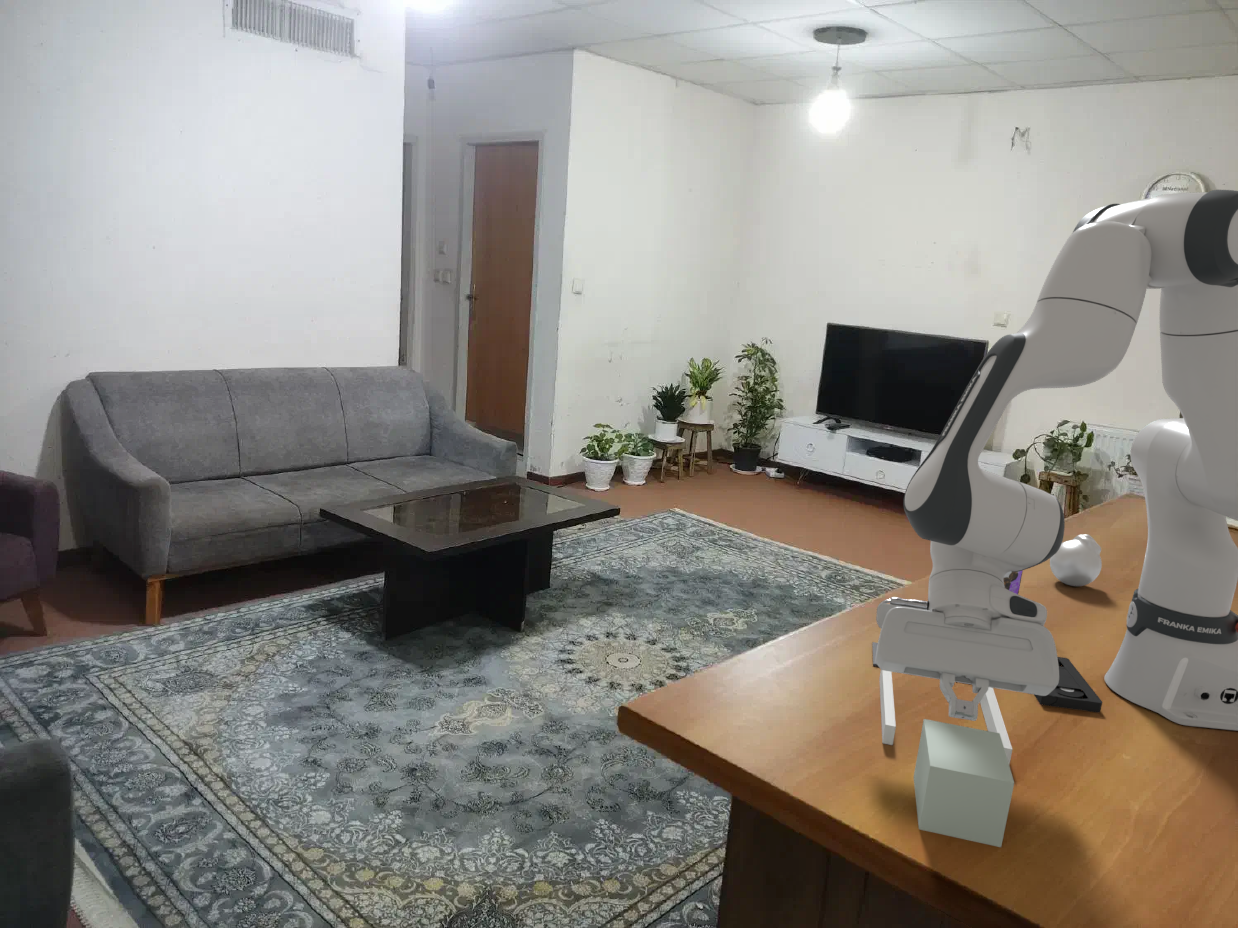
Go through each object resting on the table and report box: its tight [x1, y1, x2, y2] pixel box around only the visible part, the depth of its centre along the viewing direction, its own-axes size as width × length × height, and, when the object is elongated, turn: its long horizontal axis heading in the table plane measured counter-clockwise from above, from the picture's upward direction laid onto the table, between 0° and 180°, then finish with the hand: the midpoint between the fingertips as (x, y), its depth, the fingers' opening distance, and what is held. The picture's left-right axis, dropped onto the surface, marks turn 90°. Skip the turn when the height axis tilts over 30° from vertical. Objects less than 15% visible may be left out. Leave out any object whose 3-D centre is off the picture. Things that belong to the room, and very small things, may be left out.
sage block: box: [913, 718, 1015, 848], centre depth 95 cm, size 8×10×8 cm
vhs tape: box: [1033, 656, 1103, 714], centre depth 128 cm, size 14×8×2 cm, turn 172°
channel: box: [871, 641, 1013, 765], centre depth 120 cm, size 16×30×2 cm, turn 165°
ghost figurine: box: [1049, 533, 1103, 587], centre depth 170 cm, size 9×10×10 cm
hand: (962, 717), depth 102 cm, fingers closed
